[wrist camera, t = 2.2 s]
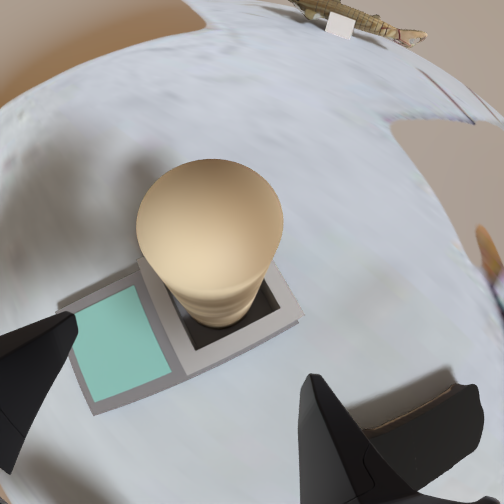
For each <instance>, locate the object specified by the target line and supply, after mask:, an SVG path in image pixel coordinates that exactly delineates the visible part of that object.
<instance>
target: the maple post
mask: <svg viewBox="0 0 504 504" xmlns="http://www.w3.org/2000/svg"><path fill="white" fill-rule="evenodd" d="M282 231H283V212H282V208H281V204H280V202H279V199H278V197H277V195H276V193H275V191H274V190H273V188H272V187H271V186H270V185H269V183H268V182H267V181H266V180H265V179H264V178H263V177H262V176H260V175H259V174H258V173H256V172H255V171H253V170H252V169H250V168H248V167H246V166H244V165H242V164H239V163H236V162H232V161H228V160H221V159H203V160H196V161H192V162H188V163H185V164H182V165H180V166H178V167H176V168H174V169H172V170H170V171H168V172H167V173H165V174H164V175H163V176H161V177H160V178H159V179H158V180H157V181H156V182H155V183H154V184H153V185H152V186H151V187H150V189H149V190H148V191H147V193H146V195H145V196H144V198H143V200H142V202H141V204H140V207H139V210H138V214H137V220H136V232H137V239H138V243H139V246H140V248H141V251H142V253H143V255H144V256H145V258H146V260H147V261H148V263H149V264H150V265H151V267H152V268H153V269H154V271H155V272H156V273H157V274H158V276H159V277H160V278H161V280H162V281H163V282H164V283H165V285H166V286H167V287H168V289H169V290H170V291H171V292H172V294H173V295H174V296H175V297H176V299H177V300H178V301H179V302H180V303H181V305H182V306H183V307H184V308H185V310H186V311H187V312H188V313H189V314H190V315H191V317H192V318H193V319H194V320H195V321H196V322H197V323H199V324H200V325H202V326H204V327H206V328H210V329H215V330H222V329H227V328H230V327H233V326H235V325H236V324H238V323H239V322H240V321H242V320H243V319H244V317H245V316H246V315H247V313H248V311H249V309H250V307H251V305H252V303H253V300H254V298H255V296H256V294H257V292H258V290H259V287H260V285H261V283H262V281H263V279H264V276H265V274H266V272H267V270H268V268H269V265H270V263H271V261H272V259H273V257H274V254H275V252H276V250H277V248H278V245H279V243H280V240H281V236H282Z"/></svg>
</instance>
